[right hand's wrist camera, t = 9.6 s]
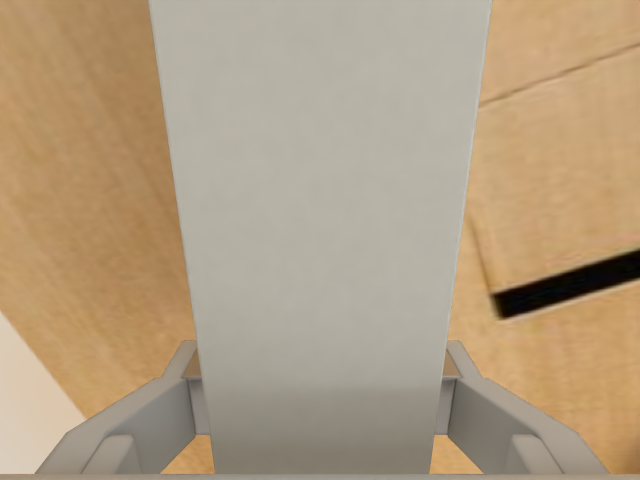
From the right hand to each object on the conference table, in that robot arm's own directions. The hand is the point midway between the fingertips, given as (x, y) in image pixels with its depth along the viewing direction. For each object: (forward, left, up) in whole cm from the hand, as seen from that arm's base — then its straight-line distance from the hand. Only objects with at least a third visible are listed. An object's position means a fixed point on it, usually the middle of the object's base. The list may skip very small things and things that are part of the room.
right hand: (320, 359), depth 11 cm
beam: (+18, -20, -3) cm, 27 cm away
